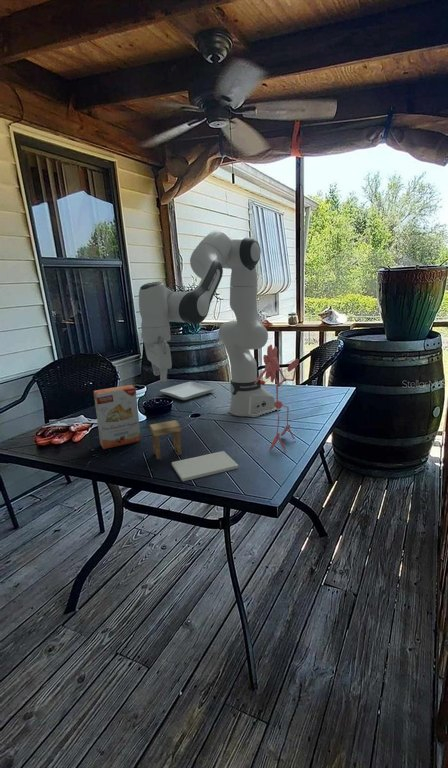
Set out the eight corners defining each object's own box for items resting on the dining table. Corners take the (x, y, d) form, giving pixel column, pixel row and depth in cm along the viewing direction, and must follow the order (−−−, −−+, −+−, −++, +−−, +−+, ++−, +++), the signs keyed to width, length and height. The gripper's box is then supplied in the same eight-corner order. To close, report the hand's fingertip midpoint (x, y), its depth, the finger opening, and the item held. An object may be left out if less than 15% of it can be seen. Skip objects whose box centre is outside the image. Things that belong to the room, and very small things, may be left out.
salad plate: (183, 403, 193) (183, 396, 192) (159, 396, 209) (158, 389, 208) (216, 393, 207) (216, 387, 206) (191, 387, 222) (190, 381, 221)
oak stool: (178, 448, 142) (175, 420, 139) (182, 454, 136) (180, 425, 134) (152, 453, 139) (149, 424, 136) (156, 460, 133) (153, 430, 130)
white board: (223, 453, 135) (223, 450, 135) (238, 468, 125) (238, 465, 124) (171, 465, 129) (171, 462, 129) (182, 481, 118) (182, 478, 118)
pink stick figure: (305, 433, 148) (303, 338, 140) (279, 462, 127) (274, 352, 118) (267, 428, 156) (262, 338, 147) (236, 455, 135) (228, 351, 126)
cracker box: (103, 450, 143) (95, 394, 138) (100, 444, 149) (92, 390, 143) (141, 441, 149) (135, 387, 144) (137, 436, 155) (131, 383, 149)
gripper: (174, 338, 119) (178, 383, 122) (158, 331, 137) (162, 370, 141) (153, 340, 117) (158, 386, 120) (140, 333, 135) (144, 373, 139)
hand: (160, 378), depth 131 cm, fingers open, 8 cm apart
